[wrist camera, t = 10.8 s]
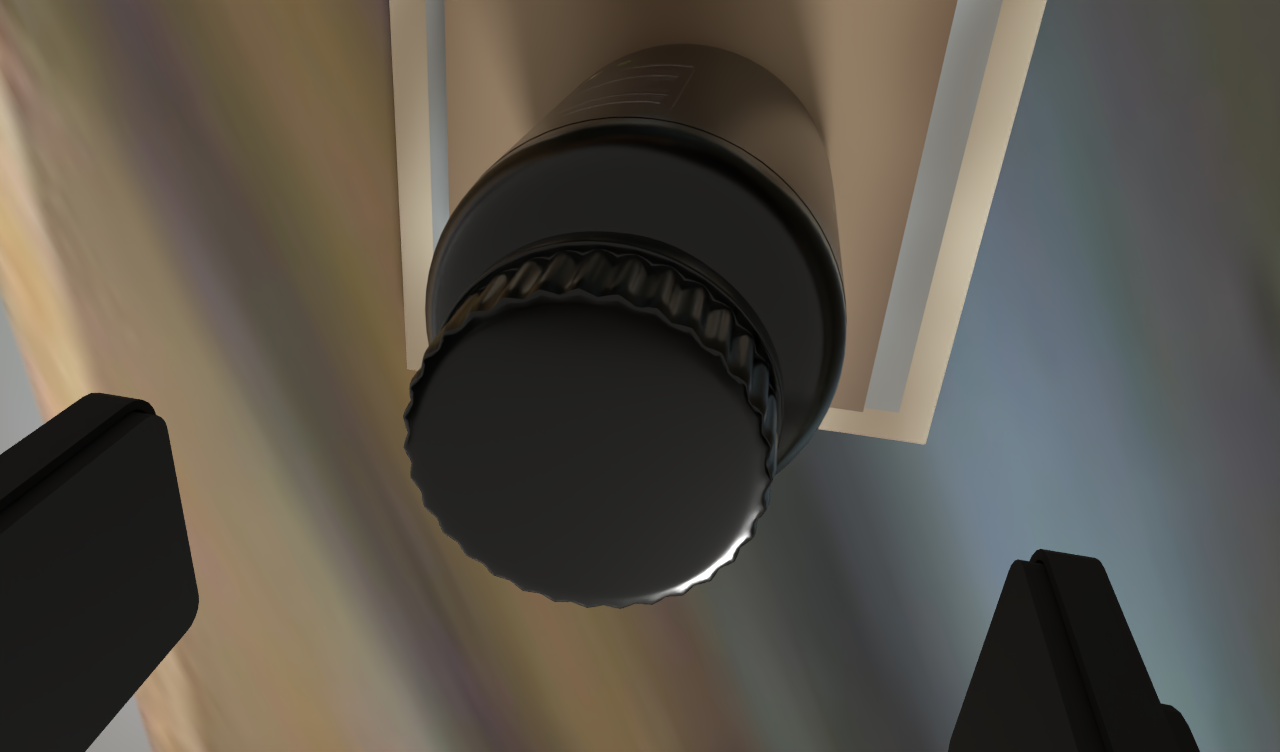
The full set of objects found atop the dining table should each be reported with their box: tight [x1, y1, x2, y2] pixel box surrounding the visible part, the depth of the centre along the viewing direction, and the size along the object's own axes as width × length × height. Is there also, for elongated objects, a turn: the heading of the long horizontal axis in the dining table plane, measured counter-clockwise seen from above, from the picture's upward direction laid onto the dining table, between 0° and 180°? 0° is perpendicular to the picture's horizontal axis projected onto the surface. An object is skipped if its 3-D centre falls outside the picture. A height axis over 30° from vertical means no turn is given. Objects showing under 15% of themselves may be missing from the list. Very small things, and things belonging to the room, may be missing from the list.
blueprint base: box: [389, 0, 1047, 444], centre depth 24 cm, size 16×16×4 cm
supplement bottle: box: [403, 44, 847, 609], centre depth 17 cm, size 7×7×12 cm
